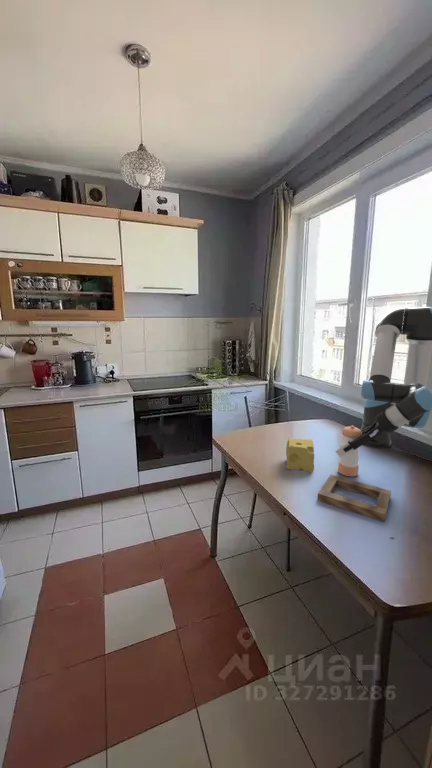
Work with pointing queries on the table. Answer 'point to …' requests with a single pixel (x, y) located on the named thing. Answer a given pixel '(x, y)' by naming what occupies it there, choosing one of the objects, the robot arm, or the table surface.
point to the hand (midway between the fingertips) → (339, 451)
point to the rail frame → (351, 504)
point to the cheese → (300, 454)
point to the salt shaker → (350, 453)
